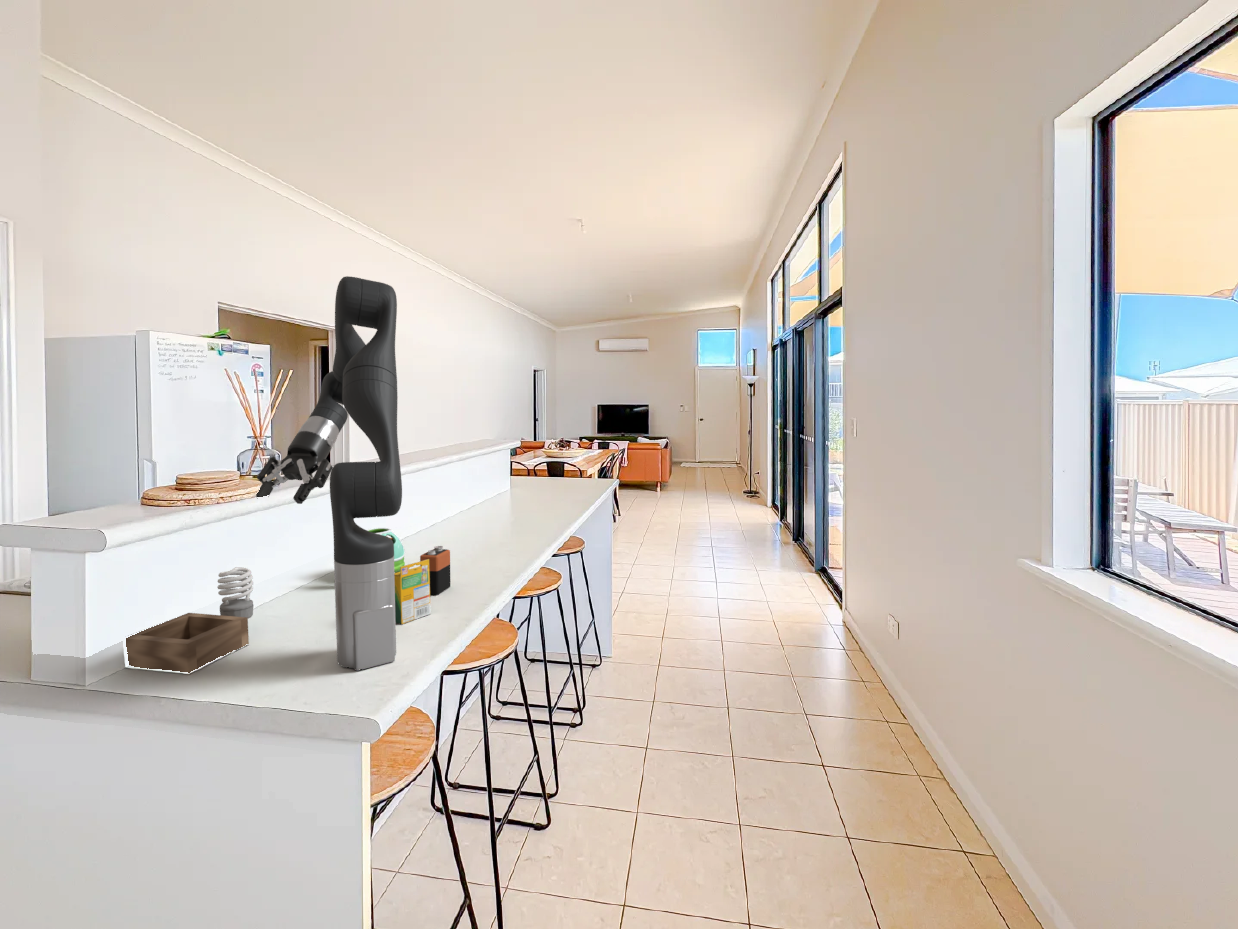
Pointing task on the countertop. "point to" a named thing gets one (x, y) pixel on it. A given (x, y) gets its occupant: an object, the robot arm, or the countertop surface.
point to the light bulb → (233, 603)
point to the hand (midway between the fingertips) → (278, 500)
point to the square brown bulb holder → (187, 642)
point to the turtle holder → (398, 546)
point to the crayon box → (412, 592)
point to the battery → (438, 569)
